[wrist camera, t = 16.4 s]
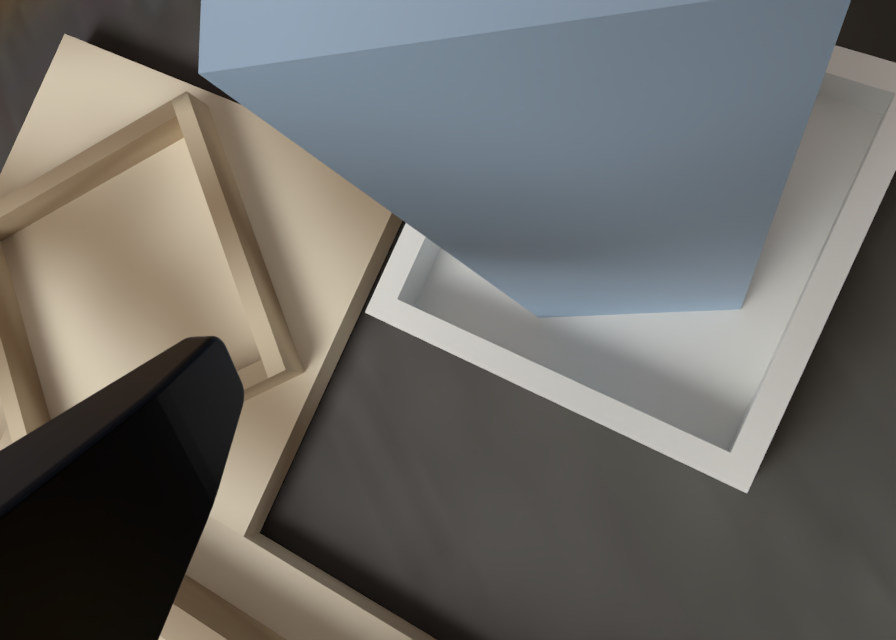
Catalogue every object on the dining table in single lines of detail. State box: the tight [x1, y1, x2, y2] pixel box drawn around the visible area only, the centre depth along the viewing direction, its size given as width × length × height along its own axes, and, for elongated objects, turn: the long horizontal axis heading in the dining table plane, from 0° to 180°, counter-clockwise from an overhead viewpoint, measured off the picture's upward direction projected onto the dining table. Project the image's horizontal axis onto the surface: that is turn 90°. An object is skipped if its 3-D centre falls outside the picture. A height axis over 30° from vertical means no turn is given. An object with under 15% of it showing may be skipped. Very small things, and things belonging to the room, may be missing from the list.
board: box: [0, 34, 437, 640], centre depth 20 cm, size 22×27×2 cm
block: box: [198, 0, 851, 318], centre depth 13 cm, size 4×4×14 cm
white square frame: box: [365, 45, 896, 493], centre depth 19 cm, size 9×9×2 cm
